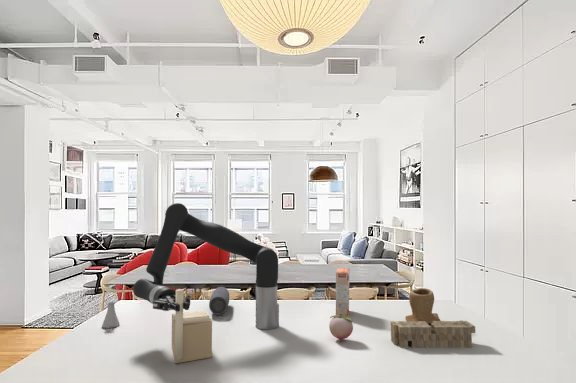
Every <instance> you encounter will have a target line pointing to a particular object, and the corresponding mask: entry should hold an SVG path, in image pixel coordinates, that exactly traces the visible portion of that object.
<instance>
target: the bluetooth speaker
mask: <svg viewBox="0 0 576 383" xmlns="http://www.w3.org/2000/svg"><path fill="white" fill-rule="evenodd" d="M229 304H230V293H229V290H228V289H227V287H224V286H218V287H216V288H214V290H213V291H212V293H211V296H210V298H209V301H208V306H209V310H210V312H211V313H212V314H214V315H222V314H223V313H225V312H226V310H227V309H228V307H229Z"/></svg>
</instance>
